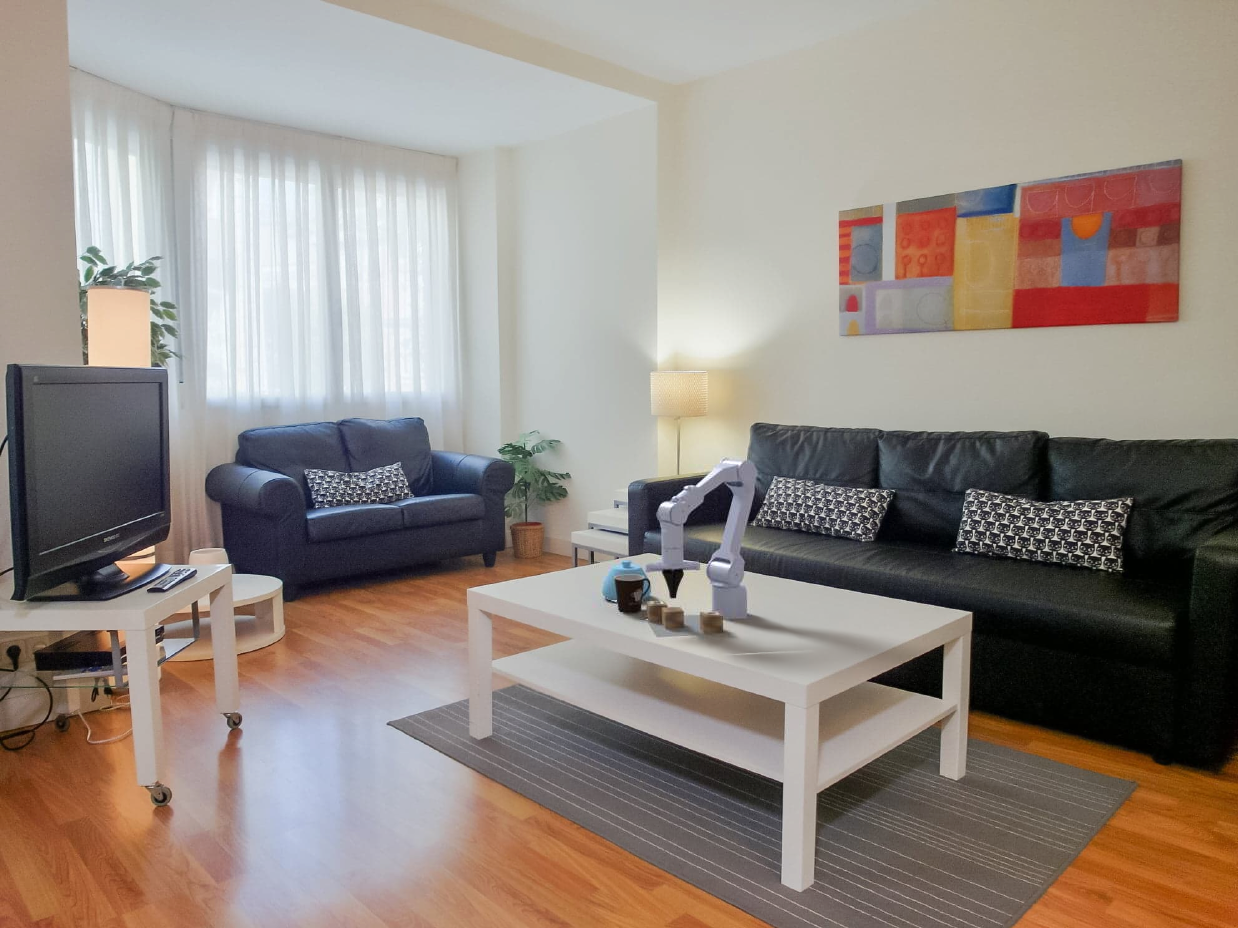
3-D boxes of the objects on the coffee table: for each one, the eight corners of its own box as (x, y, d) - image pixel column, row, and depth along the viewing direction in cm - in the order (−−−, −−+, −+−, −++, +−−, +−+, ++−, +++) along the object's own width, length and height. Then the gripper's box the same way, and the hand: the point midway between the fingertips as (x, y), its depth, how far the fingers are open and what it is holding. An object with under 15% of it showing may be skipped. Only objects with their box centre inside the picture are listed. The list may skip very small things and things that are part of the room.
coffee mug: (619, 616, 248) (618, 581, 248) (611, 609, 257) (610, 575, 256) (658, 613, 252) (658, 578, 251) (649, 606, 260) (649, 572, 259)
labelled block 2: (718, 627, 234) (718, 610, 233) (723, 633, 229) (723, 614, 228) (700, 628, 233) (699, 610, 233) (704, 633, 228) (704, 615, 228)
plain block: (680, 623, 239) (680, 606, 239) (683, 627, 234) (683, 611, 234) (661, 623, 238) (661, 607, 238) (665, 628, 233) (665, 612, 233)
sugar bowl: (652, 592, 278) (652, 556, 277) (649, 604, 263) (649, 565, 262) (605, 592, 279) (604, 556, 278) (599, 603, 264) (598, 565, 263)
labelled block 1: (664, 616, 246) (664, 599, 246) (667, 621, 241) (667, 603, 241) (646, 617, 245) (646, 600, 245) (649, 622, 240) (649, 604, 240)
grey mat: (708, 615, 248) (707, 614, 248) (725, 634, 228) (725, 633, 228) (644, 618, 246) (644, 617, 246) (656, 638, 226) (656, 636, 226)
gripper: (647, 550, 230) (648, 602, 231) (702, 548, 231) (702, 599, 233) (643, 546, 237) (644, 596, 238) (696, 544, 238) (697, 593, 240)
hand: (672, 597), depth 236 cm, fingers closed
